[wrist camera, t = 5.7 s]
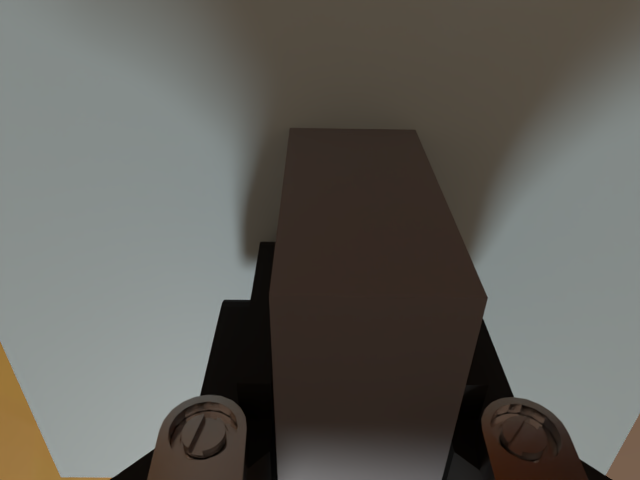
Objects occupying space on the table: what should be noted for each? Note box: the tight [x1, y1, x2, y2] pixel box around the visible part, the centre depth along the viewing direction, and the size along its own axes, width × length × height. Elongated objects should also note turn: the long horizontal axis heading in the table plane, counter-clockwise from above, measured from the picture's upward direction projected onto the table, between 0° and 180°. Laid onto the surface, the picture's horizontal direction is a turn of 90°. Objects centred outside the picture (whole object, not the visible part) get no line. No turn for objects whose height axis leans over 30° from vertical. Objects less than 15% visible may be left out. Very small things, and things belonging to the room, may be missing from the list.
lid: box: [0, 0, 640, 480], centre depth 11 cm, size 15×17×7 cm
